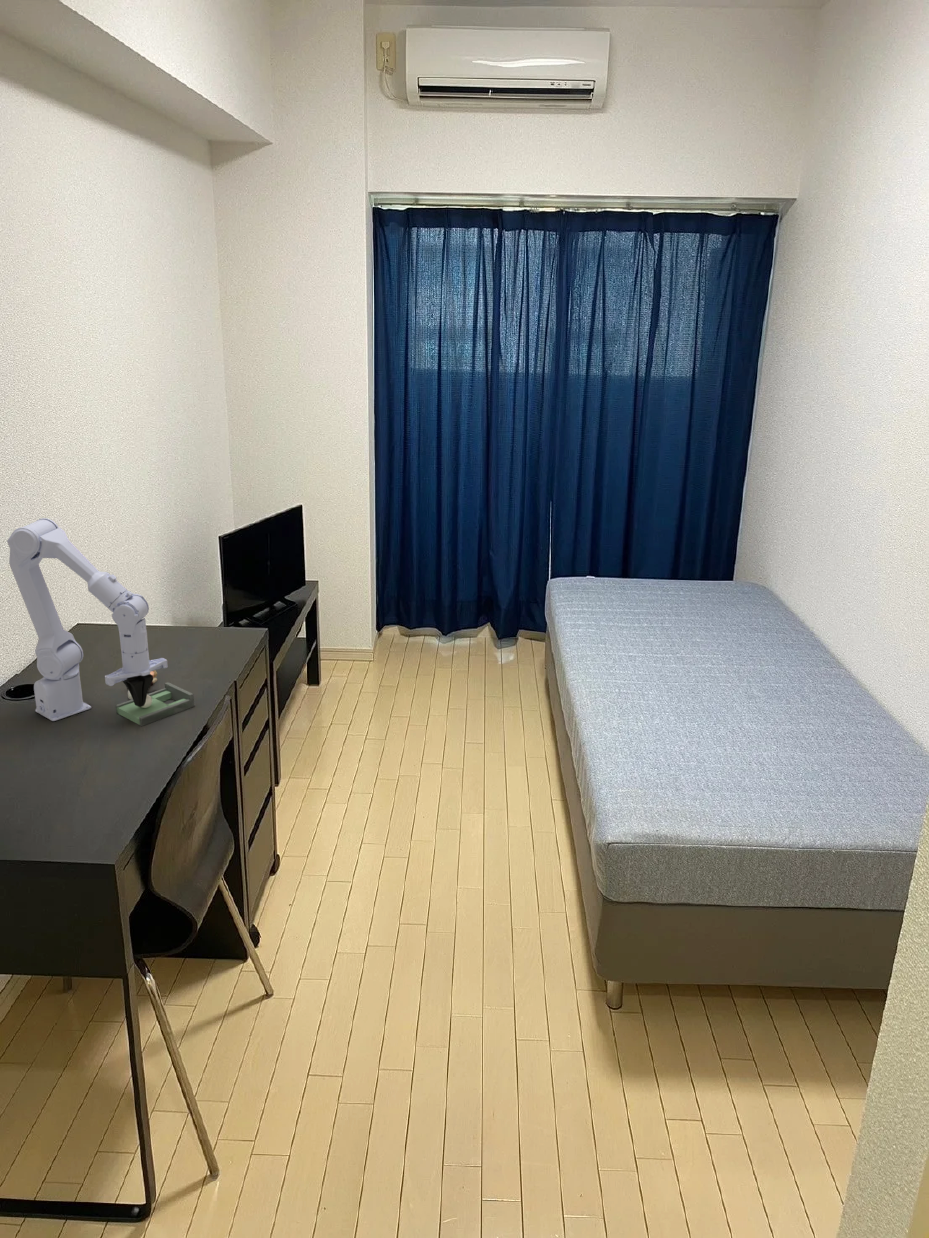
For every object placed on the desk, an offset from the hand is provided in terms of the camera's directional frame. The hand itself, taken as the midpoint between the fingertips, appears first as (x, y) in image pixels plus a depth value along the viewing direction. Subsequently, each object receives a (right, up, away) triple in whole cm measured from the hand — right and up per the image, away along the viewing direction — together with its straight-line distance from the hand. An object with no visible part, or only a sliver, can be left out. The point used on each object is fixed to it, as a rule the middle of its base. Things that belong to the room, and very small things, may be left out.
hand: (140, 704), depth 207 cm
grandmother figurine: (-4, +6, +19) cm, 21 cm away
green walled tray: (+2, -1, +4) cm, 5 cm away
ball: (+1, +1, +1) cm, 1 cm away
